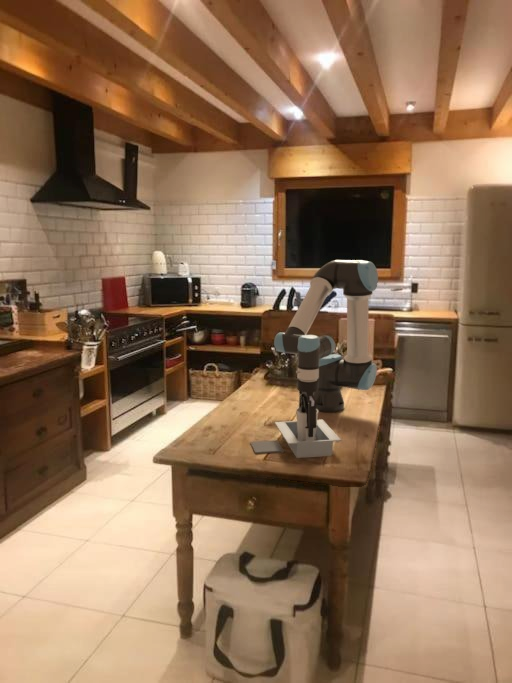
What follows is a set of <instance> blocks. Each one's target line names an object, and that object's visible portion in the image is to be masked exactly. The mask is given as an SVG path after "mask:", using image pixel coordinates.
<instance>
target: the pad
mask: <svg viewBox="0 0 512 683" xmlns="http://www.w3.org/2000/svg"><path fill="white" fill-rule="evenodd" d="M250 445H251V448H252V449H253V452H254V454H255V455H261V454H274V453H284V448H283V447H282V445H281V444H280V442H279V440H277V439H275V440H274V439H273V440H260V441H259V440H256V441H250Z"/></svg>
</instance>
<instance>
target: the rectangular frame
mask: <svg viewBox="0 0 512 683" xmlns="http://www.w3.org/2000/svg"><path fill="white" fill-rule="evenodd" d="M274 425H275V426H276V427H277V429H278V430H279V432H280V434H281V436H282V437H283V439H284V440H285V443H286V444H287V445H288V447H289V448H290V449H291V451H292V453H293V454H294V456H295V457H296V459H302V458H317V457H319V458H320V457H331V456H333V449H334V448H333V447H334V446H333V445H334V444H333V443H334V442H342V439H341V438H340V437H339V436H338V435H337V434H336V433H335V431H334V430H333V429H332V428H331V427H330V426H329V425H328V424H327V422H326V421H325V420H324V419H317V428H316V438H315V441H301V442H299V441H298V430H297V420H291V421H290V420H289V421H275V422H274Z"/></svg>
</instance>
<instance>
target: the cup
mask: <svg viewBox="0 0 512 683" xmlns="http://www.w3.org/2000/svg"><path fill="white" fill-rule="evenodd" d="M295 415H296V421H297V430H298V435H297V440H298V441H299V442H301V441H306V428H305V427H307V414H306V413H302V412H301V408H299V407H297V408H296V409H295ZM318 417H319V411H318V409H316V428H317V420H319V419H318ZM316 428H314V441H316Z"/></svg>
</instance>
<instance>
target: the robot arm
mask: <svg viewBox="0 0 512 683" xmlns="http://www.w3.org/2000/svg"><path fill="white" fill-rule="evenodd" d="M375 265H376V264H374V263H373V262H372V261H368V260H363V259H356V260H355V259H352V260H351V259H335V260H331V261H329V262H327V263H325V264H324V265H323V266H321V267H320V268H319V269H318V270H317V271H316V272H315V273H314V274H313V277H312V278H311V279H310V281H309V289H308V290H307V292H306V293H305V295H304V297H303V299H302V301H301V303H300V305H299V307H298V308H297V310H296V312H295V314H294V316H293V318H292V319H291V321H290V324H289V325H288V327H287V328H286V330H285V331H283V332H280V331H279V332H278V333H277V334H276V335H275V337H274V340H273V341H274V342H273V344H274V345H273V346H274V348H275V350H276V351H277V352H279V353H284V354H293V355H297V370H295V373H296V374H297V380H296V385H297V386H296V389H297V391H298V394H299V395H298V397H299V398H298V399H299V400H298V408H301V412H302V413H306V414H307V427H305V428H306V441H314V428H316V409H318V412H321V413H323V412H324V413H334V412H335V413H336V412H340V411H342V410H344V408H345V401H344V398H343V394H342V389H341V388H348V389H354V390H358V391H359V390H360V391H368V390H370V389H372V386H373V385H374V383H375V380H376V377H377V372H378V367H377V364H376V363H374V362H372V360H373V358H372V356H371V355H369V299H370V297H371V296H372V295H373V292H374V291H375V290H376V289H377V287H378V282H379V275H378V271H377V270H378V269H377V267H376V266H375ZM335 289H338V290H339V289H341V290H342V291H343V292H342V293H343V294H342V295H343V296H344V297H345V298H346V326H347V328H346V331H347V332H346V340H347V341H346V348H347V349H346V350H347V352H346V355H344V357H343V356H342V355H341V354H339V353H338V354H336V353H334V352H335V349H336V342H335V340H334V339H333V337H332V336H330V335H320V336H318V335H315V334H308V332H309V330H310V329H311V327H312V325H313V323H314V321H315V319H316V317H317V315H318V313H319V311H320V309H321V308H322V306H323V304H324V302H325V300H326V299H327V296H329V295H330V294H332V292H333V290H335ZM333 353H334V354H333Z"/></svg>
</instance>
